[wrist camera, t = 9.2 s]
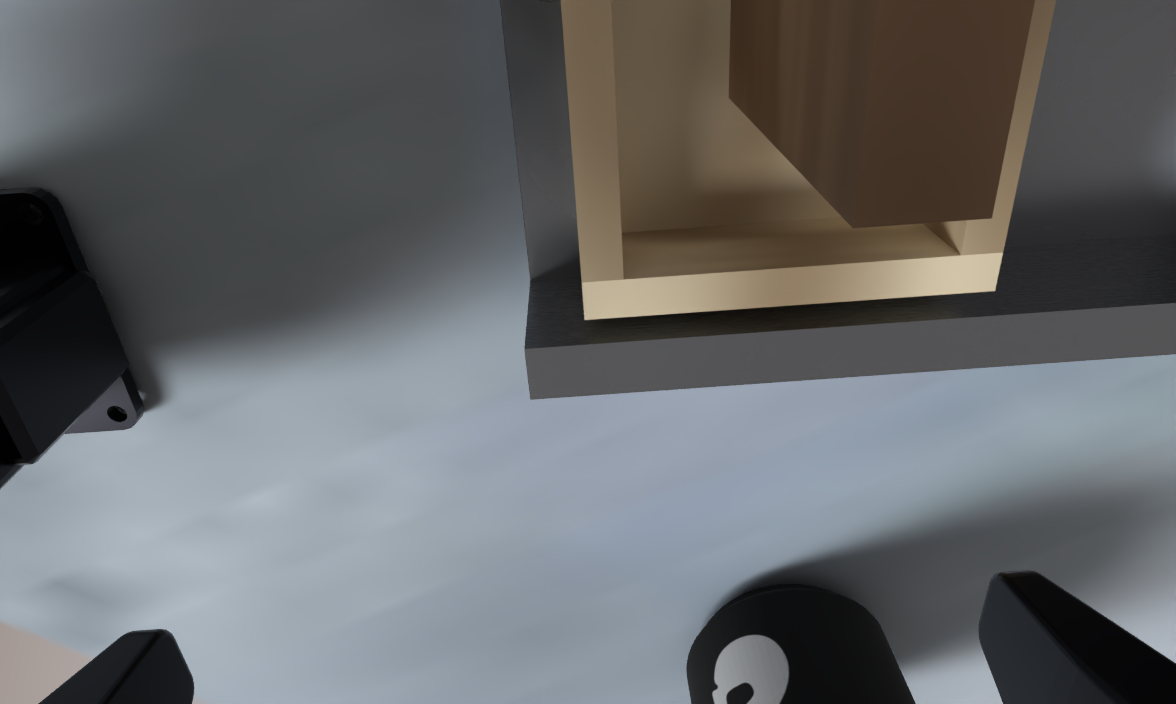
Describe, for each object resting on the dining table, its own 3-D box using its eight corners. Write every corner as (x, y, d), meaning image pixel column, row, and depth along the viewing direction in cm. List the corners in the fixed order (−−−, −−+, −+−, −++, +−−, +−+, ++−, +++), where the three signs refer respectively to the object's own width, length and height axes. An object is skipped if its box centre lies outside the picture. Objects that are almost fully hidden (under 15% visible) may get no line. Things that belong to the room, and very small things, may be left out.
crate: (580, 256, 18) (593, 486, 11) (540, -294, 13) (512, -569, 6) (925, 231, 18) (1177, 446, 11) (1012, -330, 13) (1591, -654, 6)
